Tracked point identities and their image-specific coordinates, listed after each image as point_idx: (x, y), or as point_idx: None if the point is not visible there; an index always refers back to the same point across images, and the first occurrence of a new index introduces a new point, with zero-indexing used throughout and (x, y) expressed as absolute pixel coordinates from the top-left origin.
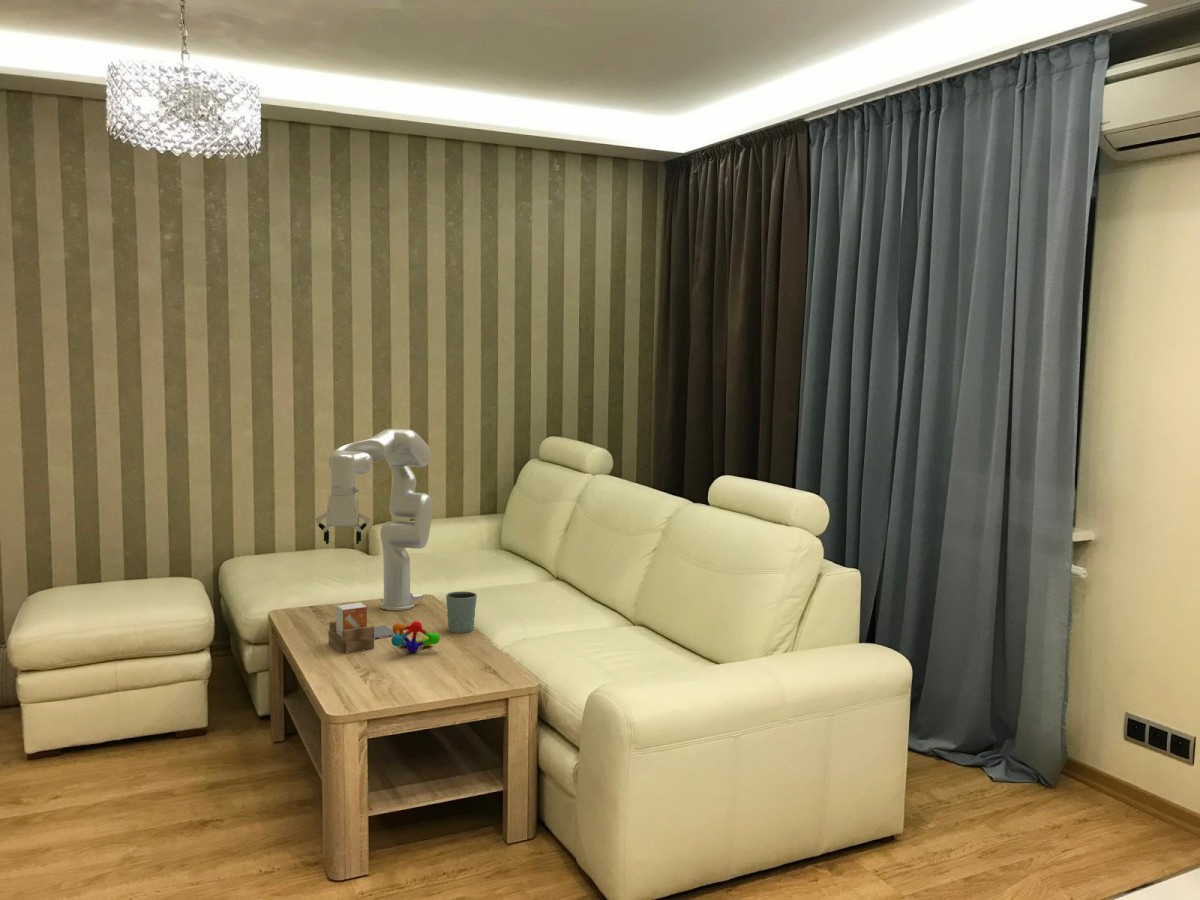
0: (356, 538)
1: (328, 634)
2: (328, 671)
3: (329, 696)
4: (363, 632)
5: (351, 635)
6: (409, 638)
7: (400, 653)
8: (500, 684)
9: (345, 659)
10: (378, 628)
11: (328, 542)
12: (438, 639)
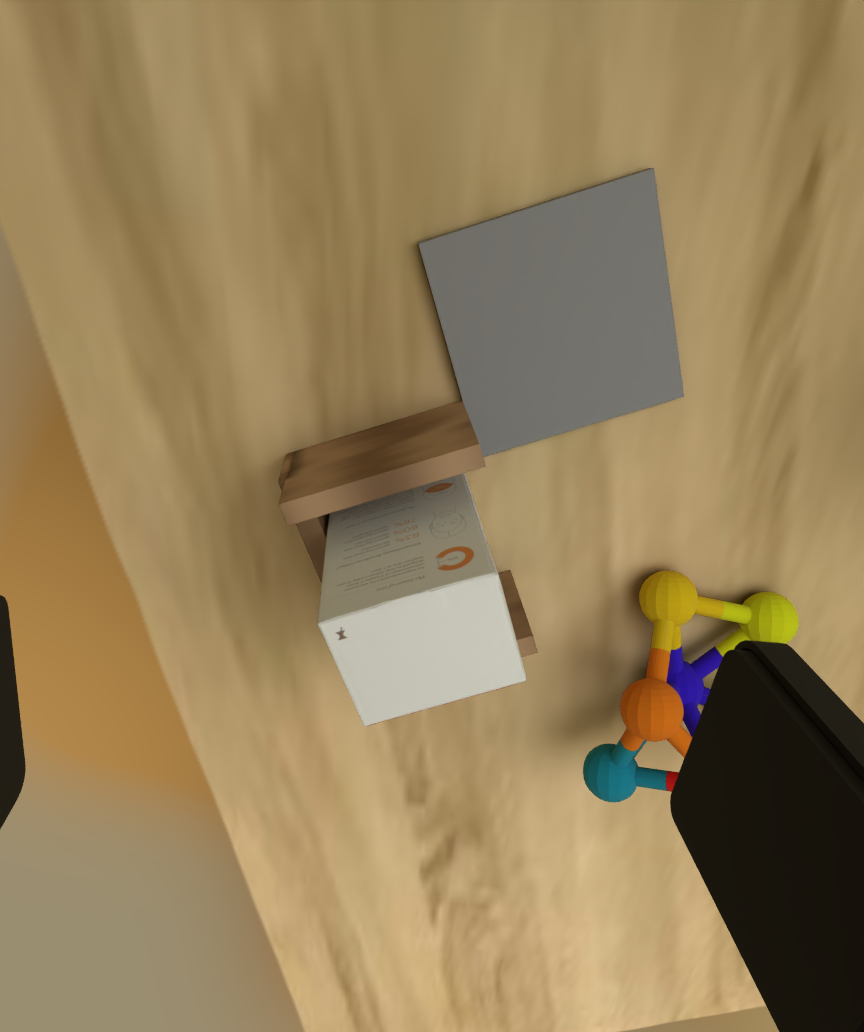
0: (728, 917)
1: (280, 474)
2: (303, 815)
3: (315, 992)
4: None
5: None
6: (695, 611)
7: (613, 671)
8: None
9: None
10: (598, 245)
11: (8, 727)
12: None
